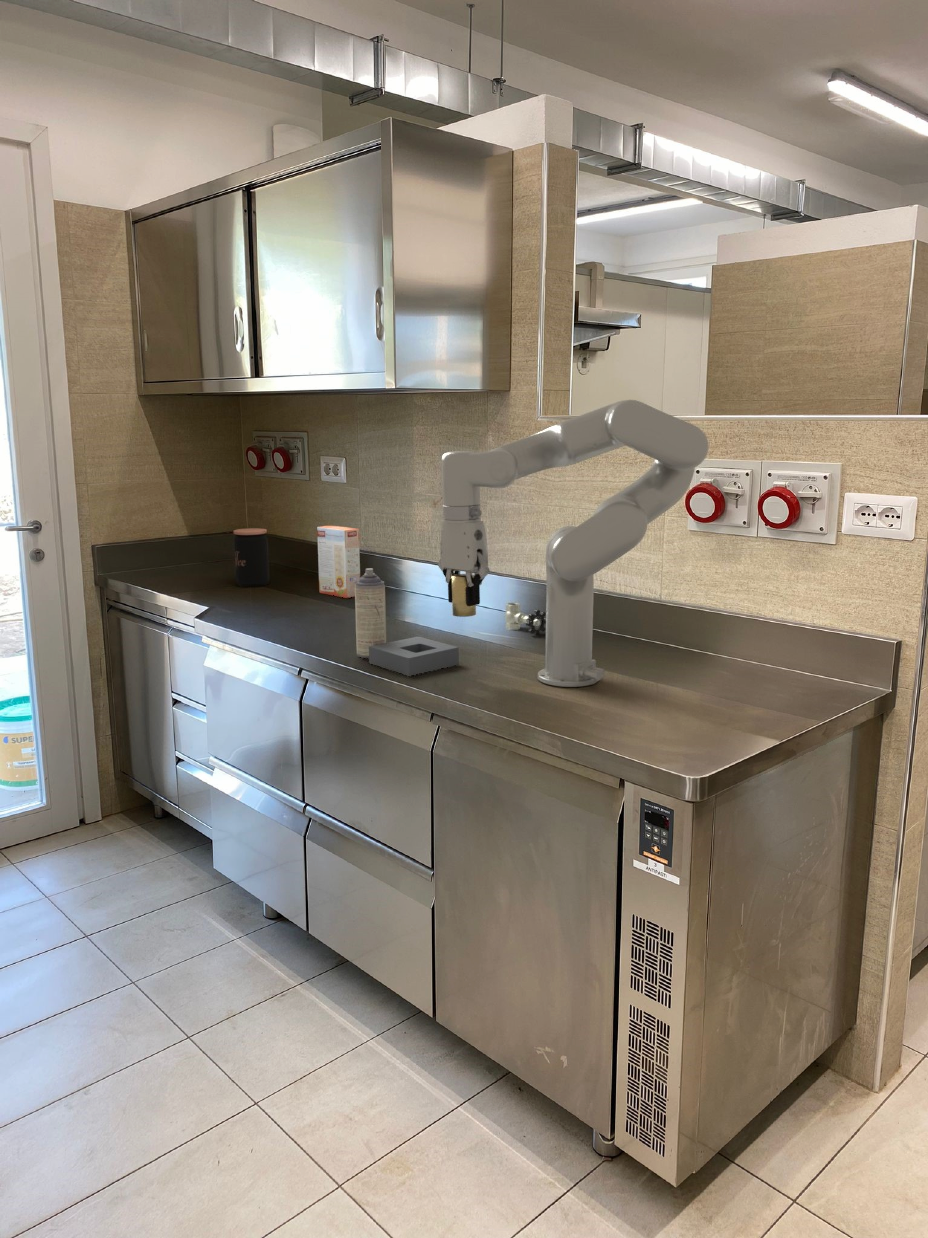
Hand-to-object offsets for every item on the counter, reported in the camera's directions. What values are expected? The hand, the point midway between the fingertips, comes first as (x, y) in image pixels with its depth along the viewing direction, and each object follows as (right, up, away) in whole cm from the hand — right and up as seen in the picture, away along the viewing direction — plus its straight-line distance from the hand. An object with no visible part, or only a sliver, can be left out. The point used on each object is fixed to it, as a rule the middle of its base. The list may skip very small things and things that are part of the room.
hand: (464, 602), depth 188 cm
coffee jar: (-69, +8, +114) cm, 133 cm away
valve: (+15, -7, +47) cm, 49 cm away
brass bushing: (0, -2, 0) cm, 2 cm away
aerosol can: (-21, -12, +23) cm, 34 cm away
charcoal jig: (-11, -13, +15) cm, 23 cm away
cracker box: (-38, +4, +96) cm, 104 cm away
